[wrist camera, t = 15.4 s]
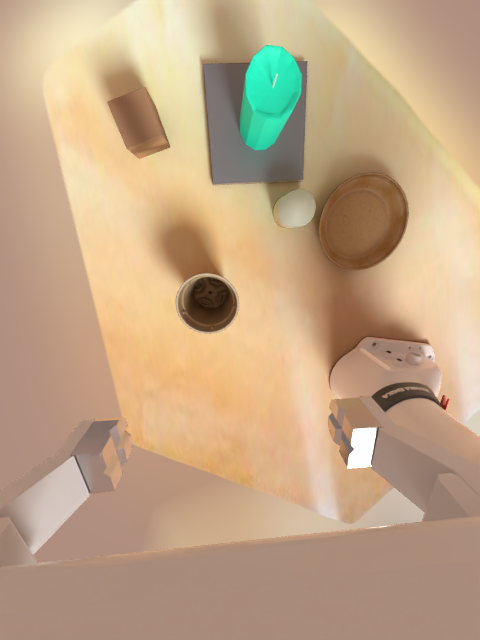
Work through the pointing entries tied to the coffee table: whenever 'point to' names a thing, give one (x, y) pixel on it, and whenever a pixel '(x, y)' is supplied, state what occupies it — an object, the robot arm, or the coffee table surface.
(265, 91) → the candle
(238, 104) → the coaster
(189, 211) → the coffee table surface
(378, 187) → the plant saucer
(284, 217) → the white rounded capsule
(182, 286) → the flower pot
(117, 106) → the walnut cube
